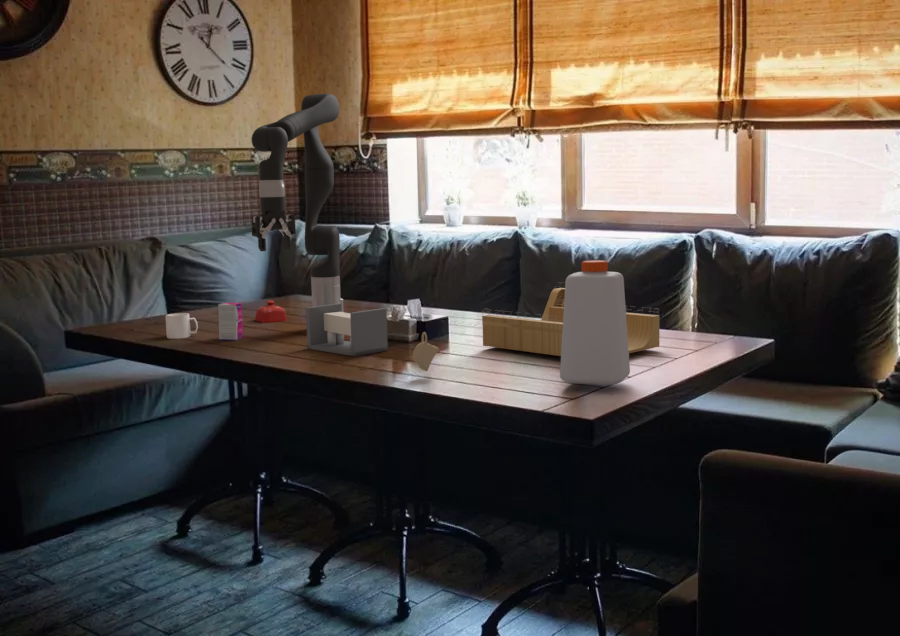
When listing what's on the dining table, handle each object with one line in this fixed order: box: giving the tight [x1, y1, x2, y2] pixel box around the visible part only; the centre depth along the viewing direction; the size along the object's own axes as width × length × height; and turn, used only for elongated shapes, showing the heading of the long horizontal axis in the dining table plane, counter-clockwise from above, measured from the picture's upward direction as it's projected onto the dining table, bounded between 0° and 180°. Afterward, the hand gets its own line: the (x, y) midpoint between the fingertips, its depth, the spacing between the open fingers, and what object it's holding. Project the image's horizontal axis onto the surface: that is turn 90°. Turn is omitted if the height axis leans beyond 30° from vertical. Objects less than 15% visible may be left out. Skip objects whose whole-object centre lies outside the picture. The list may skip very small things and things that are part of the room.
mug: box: [165, 312, 199, 340], centre depth 321 cm, size 10×7×8 cm
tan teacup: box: [412, 331, 440, 372], centre depth 254 cm, size 4×8×5 cm
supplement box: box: [218, 302, 244, 342], centre depth 314 cm, size 6×6×12 cm
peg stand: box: [305, 304, 389, 357], centre depth 290 cm, size 22×12×12 cm, turn 45°
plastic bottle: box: [559, 259, 631, 386], centre depth 238 cm, size 15×15×28 cm
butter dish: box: [255, 300, 288, 324], centre depth 348 cm, size 12×12×8 cm
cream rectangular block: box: [324, 311, 351, 337], centre depth 290 cm, size 16×6×5 cm, turn 37°
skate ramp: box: [481, 282, 660, 357], centre depth 286 cm, size 40×35×16 cm
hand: (274, 250), depth 302 cm, fingers open, 8 cm apart
